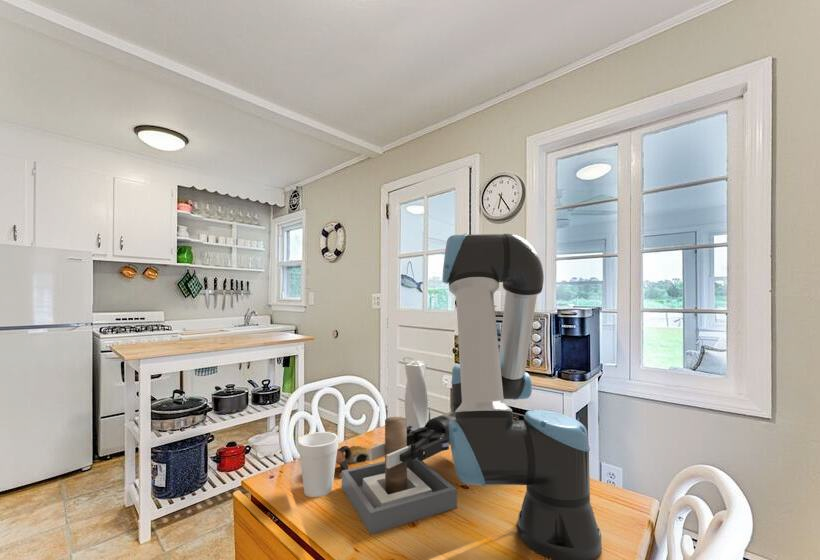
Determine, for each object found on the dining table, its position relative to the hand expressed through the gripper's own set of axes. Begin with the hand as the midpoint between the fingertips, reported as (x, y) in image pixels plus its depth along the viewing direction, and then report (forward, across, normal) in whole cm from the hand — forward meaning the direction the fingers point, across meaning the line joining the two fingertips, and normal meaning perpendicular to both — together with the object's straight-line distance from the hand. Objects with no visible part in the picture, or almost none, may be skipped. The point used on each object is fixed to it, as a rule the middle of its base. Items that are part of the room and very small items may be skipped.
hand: (379, 457), depth 83 cm
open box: (-5, 0, -12) cm, 13 cm away
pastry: (-13, +24, -12) cm, 30 cm away
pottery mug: (-3, +22, -12) cm, 25 cm away
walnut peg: (-5, 0, -9) cm, 10 cm away
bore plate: (-5, 0, -10) cm, 12 cm away
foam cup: (+5, +16, -12) cm, 21 cm away
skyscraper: (-32, +18, -12) cm, 38 cm away
